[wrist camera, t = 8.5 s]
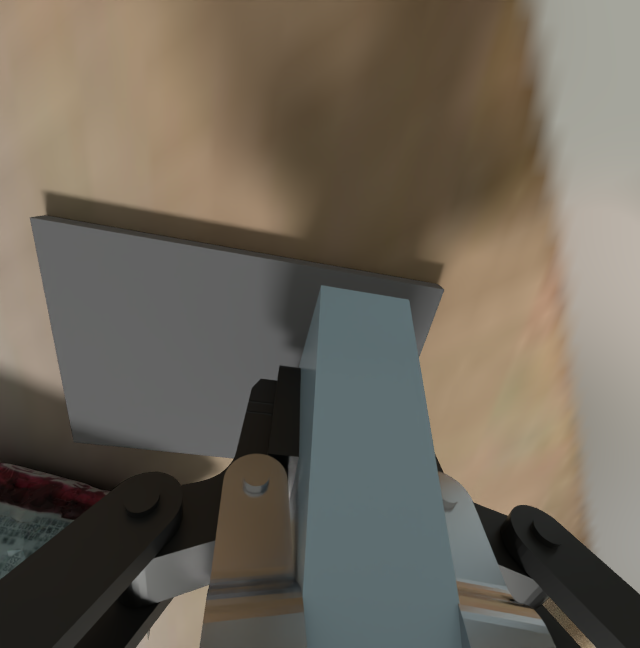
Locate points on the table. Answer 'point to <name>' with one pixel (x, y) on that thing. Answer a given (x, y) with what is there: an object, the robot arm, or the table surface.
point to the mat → (181, 330)
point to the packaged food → (37, 510)
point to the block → (369, 484)
